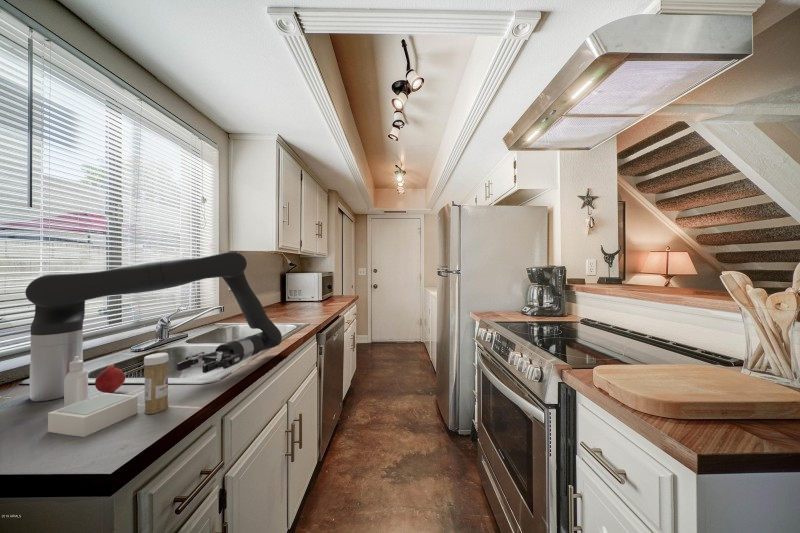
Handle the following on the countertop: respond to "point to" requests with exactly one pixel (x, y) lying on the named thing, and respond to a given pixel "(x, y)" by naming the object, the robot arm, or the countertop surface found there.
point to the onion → (109, 379)
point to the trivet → (92, 414)
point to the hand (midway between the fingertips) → (190, 368)
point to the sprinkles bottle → (156, 382)
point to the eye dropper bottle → (75, 383)
